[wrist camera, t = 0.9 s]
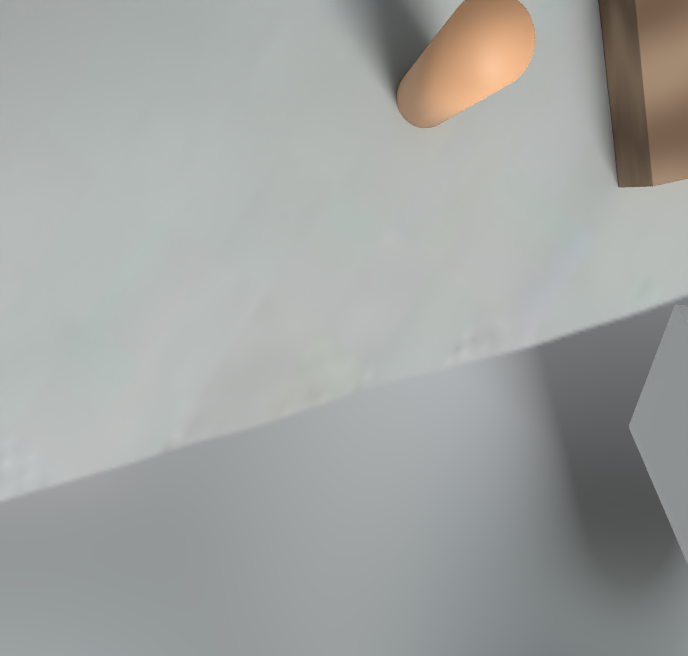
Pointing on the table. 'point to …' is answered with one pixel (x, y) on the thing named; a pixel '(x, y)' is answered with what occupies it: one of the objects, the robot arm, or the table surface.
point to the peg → (467, 61)
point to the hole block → (647, 88)
